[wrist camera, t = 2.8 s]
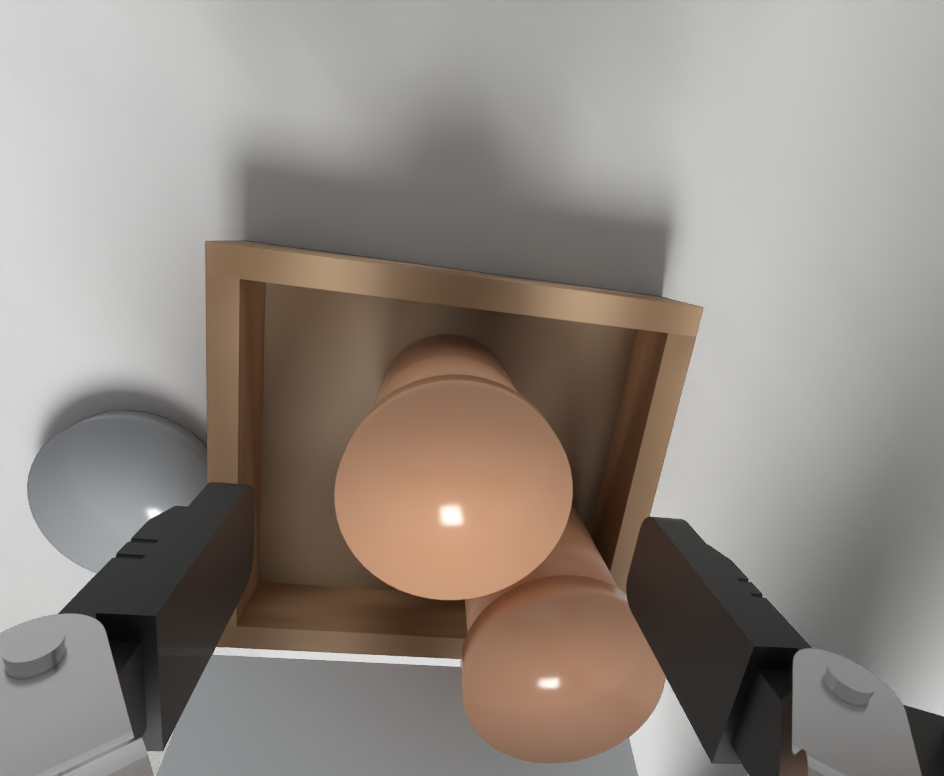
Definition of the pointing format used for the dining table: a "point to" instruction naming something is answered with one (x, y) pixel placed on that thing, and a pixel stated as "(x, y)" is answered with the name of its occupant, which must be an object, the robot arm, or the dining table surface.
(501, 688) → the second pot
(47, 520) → the grey domed disc
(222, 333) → the wooden tray
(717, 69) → the dining table surface
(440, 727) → the grey flat square panel
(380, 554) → the peach mushroom knob
